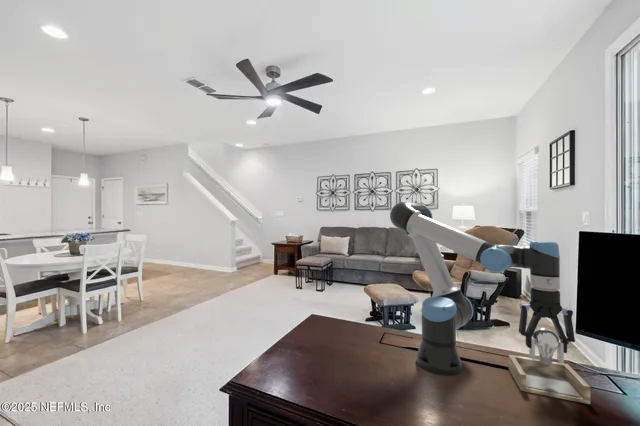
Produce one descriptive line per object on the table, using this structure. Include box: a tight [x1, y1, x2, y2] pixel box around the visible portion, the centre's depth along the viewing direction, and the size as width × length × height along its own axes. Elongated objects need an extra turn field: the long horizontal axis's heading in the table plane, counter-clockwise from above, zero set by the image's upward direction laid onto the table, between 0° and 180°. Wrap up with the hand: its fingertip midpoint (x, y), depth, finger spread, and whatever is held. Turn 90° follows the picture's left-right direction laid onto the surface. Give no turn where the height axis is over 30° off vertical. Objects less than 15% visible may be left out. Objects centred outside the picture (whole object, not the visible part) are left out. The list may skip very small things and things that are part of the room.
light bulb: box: [532, 327, 560, 366], centre depth 90 cm, size 7×7×12 cm
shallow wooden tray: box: [508, 354, 591, 405], centre depth 90 cm, size 17×14×5 cm
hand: (546, 359), depth 90 cm, fingers closed on light bulb, 7 cm apart
